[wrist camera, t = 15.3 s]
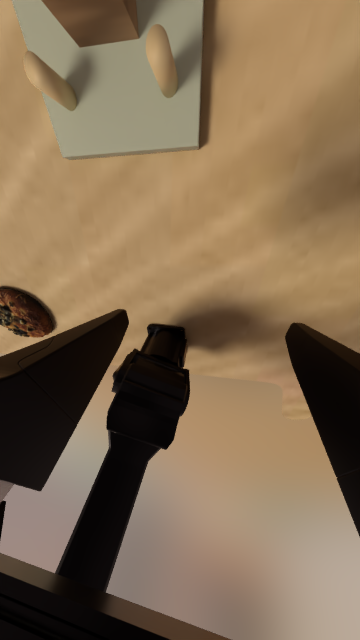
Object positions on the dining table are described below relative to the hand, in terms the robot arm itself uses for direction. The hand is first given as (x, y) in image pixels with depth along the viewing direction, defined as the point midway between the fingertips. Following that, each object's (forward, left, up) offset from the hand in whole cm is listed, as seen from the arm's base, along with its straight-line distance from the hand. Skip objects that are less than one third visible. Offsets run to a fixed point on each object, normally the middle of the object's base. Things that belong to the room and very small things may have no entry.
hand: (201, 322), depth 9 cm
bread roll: (-35, -11, -14) cm, 39 cm away
